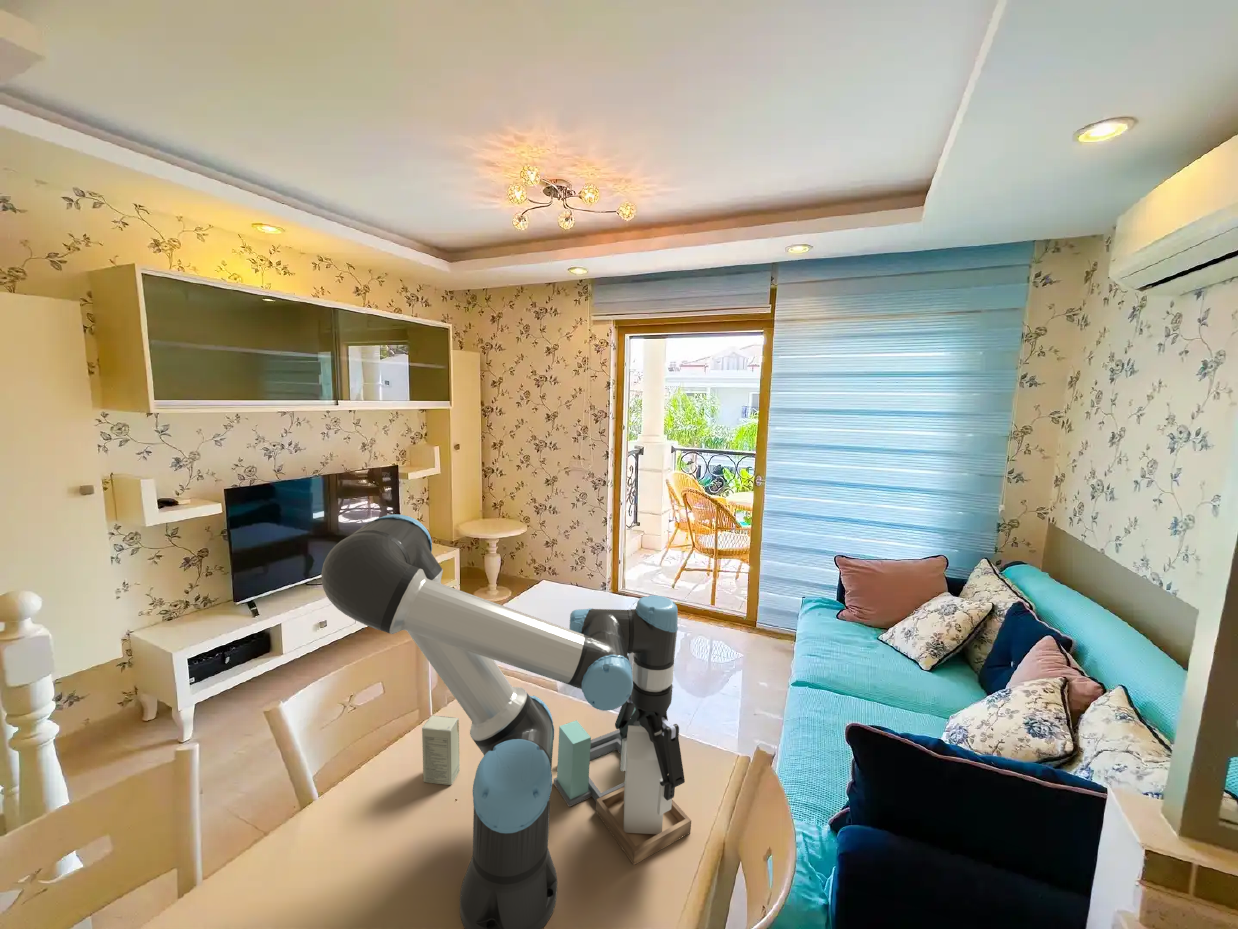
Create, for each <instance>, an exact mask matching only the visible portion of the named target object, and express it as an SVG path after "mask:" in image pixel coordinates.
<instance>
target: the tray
mask: <svg viewBox="0 0 1238 929" xmlns="http://www.w3.org/2000/svg"><path fill="white" fill-rule="evenodd" d="M624 788H625V786H624V787H622V788H620V789H618V790H616V791H614V792H611V793H609V794H607V795H605V796H603V797H600V798H598V799H596V801H595V813H596V814H597V816H598V817H599V819H600V820H601V821H602V822H603V823H604V825H605V827H606V828H607V830H608V831H609V832H610V833H611V835H612V837H613V838H614V839H615V841H616V842H617V843H618V845H619V847H620V848H621V850H622V851H623V852H624V854H625V855H626V857H627V858H628V859H629V861H630V862H631V864H632V865H633V866H634V865H636V864H639V863H640V862H642V861H643V860H645V859H647V858H649V857H651V856H652V855H654V854H656V853H657V852H659V851H661V850H663V849H665V848H666V847H668V846H670V845H672V844H673V843H675V842H676V840H677V841H678V839H679V838H680V839H682V838H683V837H682V836H684V835H686V834H687V835H689V834H691V830H692V828H691V827H692V820H691V818H690V817H689V816H688V815H687V813H685V811H684V810H682V808H681V807H680V806H679V805H678V804H677V803H676V802H675V800H673V799H672V806H671V810H669V811H667V812H665V813H663V824H662V832H661V833H659V834H641V833H626V832H625V831H624ZM688 833H689V834H688ZM687 835H686V836H687ZM681 837H682V838H681ZM684 837H685V836H684ZM680 839H679V840H680ZM674 841H675V842H674ZM671 843H672V844H671ZM664 847H665V848H664Z"/></svg>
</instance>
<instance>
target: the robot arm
mask: <svg viewBox="0 0 1238 929" xmlns="http://www.w3.org/2000/svg"><path fill="white" fill-rule="evenodd" d="M432 540H433V539H432V537H431V534H430V532H429V530H428V529H427V528H426V527H425V525H424V524H422V522H420V521H419V520H417V519H415V518H414V517H411V516H408V515H405V514H386V515H382V516H381V517H378V518H376V519H373V520H371V521H368V522H367V524H365V525H363V526H361V527H360V528H359V529H357V530H356V531H355V532H353V533H351V535H349V536H347V537H345V538H344V539H341V540H340V541H339V542H337V544H336V545H334V546H333V548H331V550H330V551H329V552H328V554H327V556H326V557H325V559H324V562H323V564H322V569H321V576H320V577H321V585H322V590H323V591H324V593H325V595H326V597H327V599H328V600H329V602H330V603H331V604H333V606H334V607H335V608H336V609H337V610H338V611H339V612H341V613H343V614H344V615H345V616H347V617H349V618H351V619H353V620H354V621H356V622H359V623H360V624H363V625H364V626H367V627H370V628H373V629H374V630H377V631H381V632H385V633H387V634H391V635H394V634H397V633H399V632H402V631H406V632H407V633H408V635H409V636H410V638H412V640H413V641H414V643H415V644H416V646H417V647H418V649H419V650H420V651H421V653H422V654H423V656H424V657H425V658H426V659H427V661H428V662H429V664H430V665H431V667H432V668H433V670H434V671H435V672H436V673H437V675H438V676H439V678H440V679H441V680H442V682H443V684H444V685H445V687H447V689H448V690H449V692H450V693H451V694H452V695H453V697H454V698H455V699H456V701H457V702H458V704H459V705H460V707H461V708H462V710H463V711H464V712H465V714H466V715H467V716H468V718H469V719H470V721H471V724H470V729H469V735H470V738H471V739H472V741H473V742H474V743H475V745H476V746H477V747H478V749H479V750H480V752H481V753H482V755H483V757H482V758H481V760H480V761H479V763H478V765H477V768H476V771H475V775H474V780H473V784H472V803H473V819H472V820H473V821H472V822H473V823H472V826H473V827H472V831H473V832H472V857H471V860H470V862H469V865H468V868H467V870H466V872H465V875H464V878H463V880H462V883H461V888H460V893H459V894H460V895H459V914H460V920H461V922H462V925H463V927H464V929H544V927H545V926H546V925H547V923H548V922H549V920H550V919H551V916H552V914H553V912H554V909H555V906H556V902H557V897H558V875H557V872H556V867H555V863H554V861H553V857H552V855H551V852H550V850H549V835H550V834H549V833H550V831H549V830H550V812H551V811H550V810H551V794H552V787H553V772H552V769H553V764H552V763H553V754H554V753H553V751H554V750H553V749H554V741H555V740H554V739H555V726H554V721H553V716H552V712H551V711H550V709H549V706H548V705H547V704H546V703H545V702H544V701H543V700H542V699H541V698H539V697H537V696H536V695H530V694H529V693H528V692H527V691H526V689H525V688H523V687H522V686H521V687H520V686H513V685H512V684H511V683H510V681H509V680H508V679H507V677H506V675H505V674H504V673H503V671H502V670H501V668H500V667H499V666H498V664H497V663H496V662H495V661H497V662H500V663H503V664H506V665H510V666H512V667H514V668H516V669H517V668H518V669H520V670H521V669H522V670H524V671H526V672H529V673H533V674H536V675H538V676H542V677H545V678H548V679H551V680H554V681H557V682H560V683H563V684H566V685H569V686H570V687H571V686H572V687H573V688H577V689H579V690H581V692H582V693H583V696H584V699H585V700H586V701H587V703H588V704H589V705H590V706H591V707H593V708H594V709H596V710H599V711H602V712H603V711H606V712H607V711H614V710H616V709H619V708H620V710H619V712H618V715H617V718H616V720H615V723H614V727H615V729H616V730H618V729H619V730H620V736H621V754H620V768H619V769H620V771H621V772H622V773H623V772H624V771H625V768H626V748H627V732H628V726H629V725H631V726H640V725H641V726H642V727H644V728H645V729H646V731H647V732H648V734H649V738H650V741H651V742H653V744H654V748H655V752H656V755H657V759H658V763H659V767H660V771H661V775H662V779H660V780H659V791H658V804H657V813H658V814H659V816H660V815H662V814H663V813H665V812H667V811H669V810H671V806H672V800H673V799H674V797H675V793H676V792H675V790H676V789H675V788H677V787H679V786H681V785H683V784H685V772H684V768H683V767H684V766H683V759H682V753H681V752H682V751H681V748H680V746H681V745H680V739H679V737H680V736H679V735H680V726H679V725H678V724H677V723H674V724H672V723H671V722H669V719H668V713H667V712H668V709H670V708H669V707H670V706H671V704H672V698H673V688H674V687H673V682H674V671H675V670H674V668H675V654H676V645H677V636H678V634H677V633H678V630H679V627H678V624H679V623H678V606H677V604H676V603H675V601H673V600H672V599H670V598H668V597H665V596H662V595H656V594H655V595H648V596H642V597H640V598H639V599H638V600H637V603H636V606H635V608H630V609H614V608H613V609H612V608H611V609H609V608H608V609H607V608H606V609H605V608H602V609H601V608H593V607H590V608H589V607H588V608H584V609H574V610H572V611H571V613H570V614H569V627H568V628H567V627H564V626H561V625H559V624H556V623H553V622H550V621H547V620H545V619H541V618H538V617H536V616H534V615H530V614H528V613H525V612H521V611H519V610H517V609H514V608H510V607H508V606H506V605H505V606H504V605H502V604H499V603H497V602H493V601H491V600H489V599H485V598H482V597H481V596H480V597H479V596H476V595H474V594H471V593H468V592H465V591H464V590H460V589H458V588H455V587H451V586H449V585H445V584H443V583H442V577H443V572H444V569H443V568H442V566H441V565H440V564H439V562H438V560H437V559H436V557H435V556H434V555H433V553H432V550H433V542H432ZM628 654H633V658H632V665H631V662H630V659H629V655H628ZM634 708H635V709H636V710H635V711H634ZM633 711H634V714H633V715H632V713H633ZM660 730H662V733H661V734H659V735H656V736H655V734H654V733H657V732H659V731H660Z"/></svg>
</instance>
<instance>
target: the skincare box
mask: <svg viewBox="0 0 1238 929" xmlns="http://www.w3.org/2000/svg"><path fill="white" fill-rule="evenodd" d="M421 734H422V741H421V742H422V743H421V744H422V773H423V774H422V777H423V778H422V779H423V782H422V783H430V784H438V785H447V786H449V785H453V783H454V782H455V780H456V778H457V777H458V774H459V772H460V770H461V767H460V765H461V764H460V718H459V717H453V716H445V715H444V716H443V715H431V716H430V717H429V718H428V719H427V721H426V722H425V723H424V725H423V726H422V727H421Z"/></svg>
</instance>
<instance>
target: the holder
mask: <svg viewBox="0 0 1238 929" xmlns="http://www.w3.org/2000/svg"><path fill="white" fill-rule="evenodd" d="M635 710H636V709H635V708H634V711H635ZM634 711H633V713H632V715H633V714H634ZM640 726H641V725H640ZM558 727H559V728H558V749H557V769H556V771H557V773H556V777H554V778H553V785H554V786H555V788H556V789H557V791H558V792H559V793H560V795H561V796H562V798H563V800H564V801H565V803H566V804H567V806H568V807H569V808H570V807H572V806H575V805H576V804H577V805H578V803H580V802H583V801H585V800H587V799H590V798H592V799H593V800H594V801H595V802H596V799H598V798H600V797H603V796H605V795H607V794H609V793H611V792H614V791H616V790H618V789H620V788H622V787H624V786H625V781H624V782H622V783H620V784H618V785H615V786H614V787H611V788H608V789H607V790H604V791H602V792H601V791H600V790H599V788H598V787H597V785H596V784H595V783H594V782H593V780H592V779H591V777H590V763H591V762H590V761H592V760H594V759H596V758H598V757H601V756H603V755H607V754H609V753H612V752H615V751H617V752H618V753H619V754H620V755H621V736H620V730H619V729H616V730H613V731H610V732H608V733H605V734H603V735H600V736H598V737H595V738H592V736H590V735H589V733H588V732H587V731H586V729H584V727H583V725H581V723H580V722H579V721H578V720H577V719H576V720H573V721H571V722H568V723H566V724H561V725H559V726H558Z"/></svg>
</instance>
